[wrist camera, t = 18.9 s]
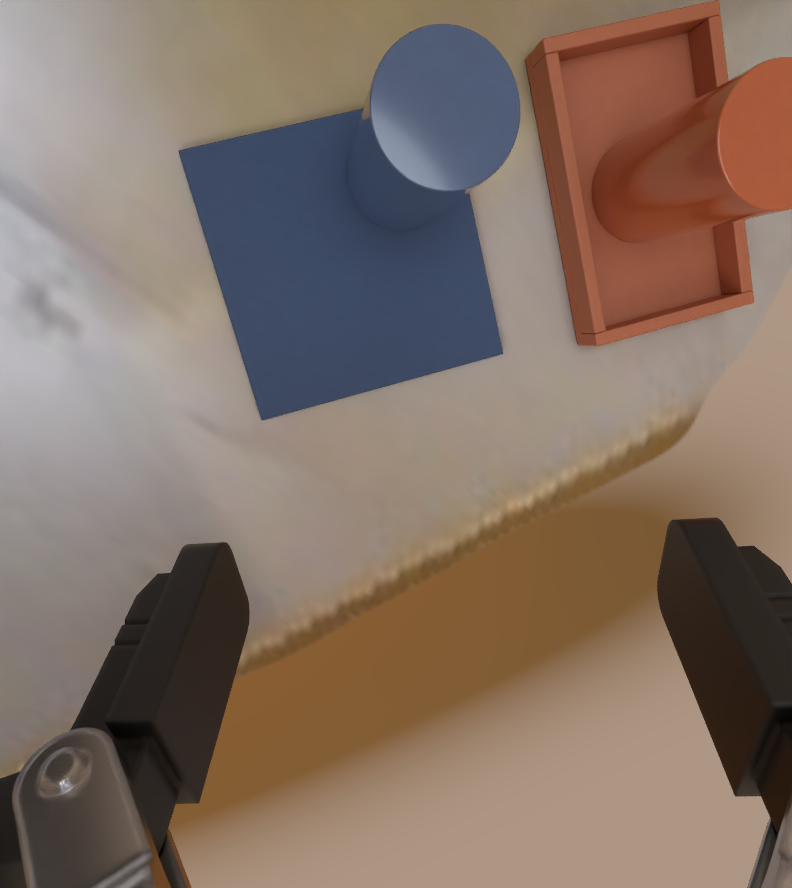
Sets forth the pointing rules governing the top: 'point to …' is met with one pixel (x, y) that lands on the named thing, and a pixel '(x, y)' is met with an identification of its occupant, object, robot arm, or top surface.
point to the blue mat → (333, 271)
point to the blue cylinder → (431, 126)
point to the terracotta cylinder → (703, 161)
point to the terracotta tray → (594, 132)
